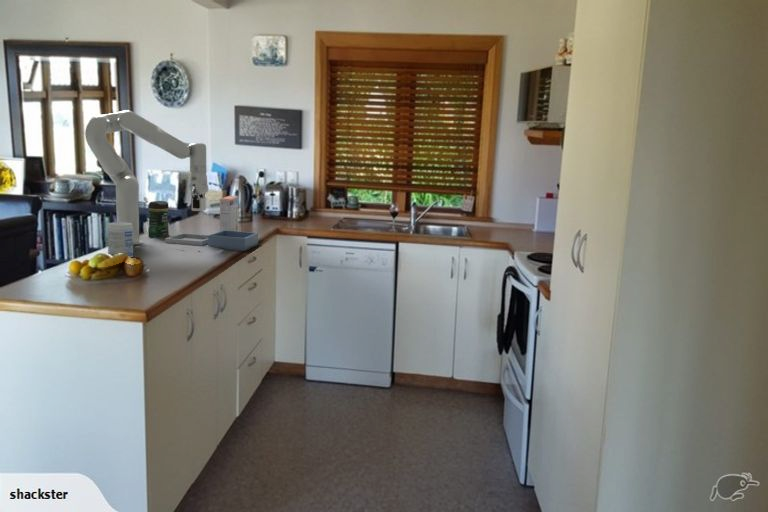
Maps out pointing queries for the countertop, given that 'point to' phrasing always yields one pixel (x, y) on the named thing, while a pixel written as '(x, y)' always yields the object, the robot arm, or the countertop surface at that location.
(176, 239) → the tray
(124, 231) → the supplement tub
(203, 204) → the stone block
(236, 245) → the bin
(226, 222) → the cracker box
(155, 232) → the coffee jar
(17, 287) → the countertop surface
